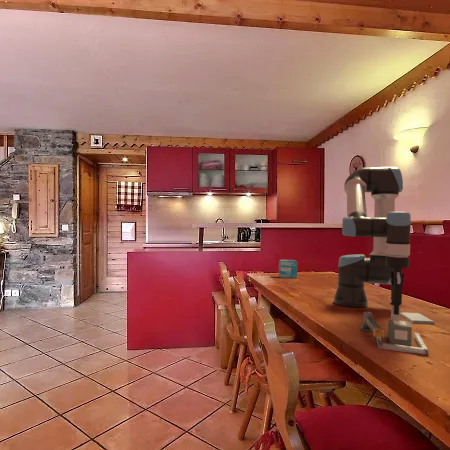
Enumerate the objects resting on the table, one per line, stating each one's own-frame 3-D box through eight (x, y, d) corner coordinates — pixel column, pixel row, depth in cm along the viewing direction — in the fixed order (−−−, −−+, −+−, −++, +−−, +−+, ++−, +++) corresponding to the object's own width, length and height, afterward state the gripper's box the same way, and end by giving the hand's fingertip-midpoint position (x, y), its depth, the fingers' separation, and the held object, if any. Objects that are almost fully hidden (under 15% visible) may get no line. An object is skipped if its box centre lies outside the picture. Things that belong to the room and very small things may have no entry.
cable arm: (364, 322, 121) (364, 315, 121) (373, 323, 121) (373, 316, 121) (374, 336, 106) (374, 329, 106) (384, 337, 106) (384, 330, 106)
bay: (374, 332, 120) (375, 328, 120) (418, 337, 115) (418, 333, 115) (378, 348, 104) (378, 343, 104) (428, 355, 100) (428, 350, 100)
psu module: (387, 336, 116) (388, 318, 116) (407, 339, 114) (408, 320, 114) (390, 343, 109) (390, 324, 109) (411, 346, 107) (411, 326, 107)
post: (359, 326, 126) (360, 310, 126) (374, 328, 125) (375, 311, 125) (360, 330, 122) (360, 313, 122) (375, 332, 120) (375, 315, 120)
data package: (279, 277, 233) (279, 260, 233) (278, 276, 238) (279, 259, 238) (297, 278, 233) (297, 260, 233) (296, 277, 237) (296, 260, 237)
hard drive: (434, 321, 131) (419, 312, 144) (412, 320, 132) (399, 311, 144) (434, 325, 131) (419, 316, 144) (412, 324, 132) (399, 315, 144)
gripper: (384, 253, 127) (382, 316, 127) (387, 257, 114) (385, 327, 115) (406, 254, 124) (404, 319, 124) (412, 258, 112) (410, 330, 112)
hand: (395, 322), depth 120 cm, fingers closed
